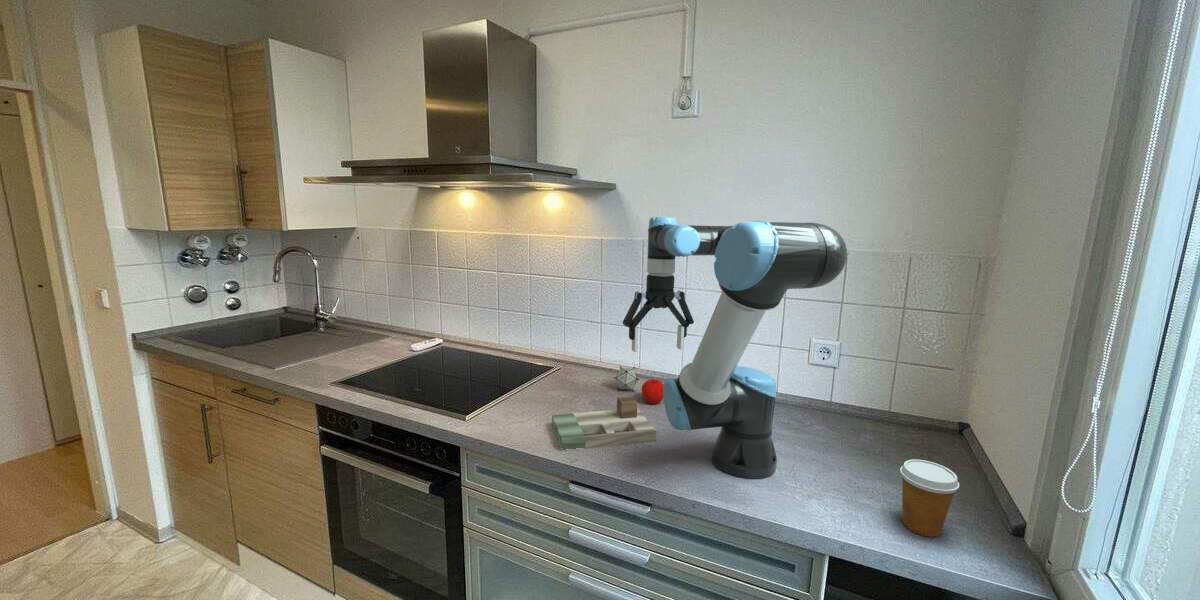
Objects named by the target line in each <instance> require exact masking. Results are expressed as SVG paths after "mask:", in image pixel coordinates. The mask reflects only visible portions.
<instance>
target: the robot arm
mask: <svg viewBox="0 0 1200 600" xmlns="http://www.w3.org/2000/svg"><path fill="white" fill-rule="evenodd" d="M647 233H648V234H647V266H646V271H647V273H648V274H647V275H646V290H645V292H640V291H635V293H634V299H633V301H632V303H631V305H630V306H629V309H628V311H627V313H626V314H625V317H624V319H623V320H622V324H623V325H624V326H625V327H628V339H629V340H631V351H633V352H634V353H638V345H639V344H638V343H639V342H638V341H639V328H637V326H638V325H639V324H640V323H641V322H642V320H643V319H644V318H645V317H646V315H647V314H648V313H649V312H650V311H651V310H652V309H654V310H655V309H667V308H668V310H669V311H670V312H671V314H673V316H674V317H675V319H676V320H677V321H678V323H679V324H678V325H677V333H676V334H677V336H676V348H677V349H679V350H681V351H683V350H684V339H685V338H686V337H687V335H688V333H687V332H688V328H689V326H690V325H693V324H694V322H695V321H694V319H693V318H694V317H693V316H692V313H691V311H690V308H689V307H688V304H687V301H686V298H685V292H684V291H683V290H677V291H675V290H674V289H675V276H674V274H675V273H676V257H678V258H679V257H680V258H681V257H689V256H714V258H715V261H714V263H713V270H714V275H715V278H716V281H717V282H718V286H719V289H720V290H721V293H720V296H719V299H718V301H717V303H716V305H715V308H714V311H713V313H712V315H711V317H710V319H709V322H708V324H707V326H706V329H705V332H704V333H703V336H702V339H701V340H700V343H699V344H698V345H699V346H698V347H697V350H696V353H695V354H694V357H693V359H692V362H688V363H687V364H686V365H685V366H683V367H682V368H681V370H680V372H679V375H678V377H677V378H674V377H671V378H668V379H666V380H665V381H664V383H663V384H664V386H663V400H662V401H663V406H664V410H665V411H664V412H665V414H666V417H667V419H668V421H669V423H670V425H671V427H673V428H674V429H675V430H677V431H693V430H701V429H709V428H710V429H711V428H713V429H714V428H721V429H720V431H719V433H718V435H717V438H716V440H715V442H714V444H713V447H712V450H711V461H712V463H713V464H714V465H715V466H716V467H717V468H718V469H719V470H722V471H723V472H725V473H727V474H730V475H732V476H735V477H741V478H746V479H763V478H768V477H769V476H772V475H774V473H776V471H777V467H778V464H777V463H778V458H777V454H776V453H777V452H776V450H775V446H774V445H775V444H774V440H773V436H772V435H773V426H774V416H775V404H776V398H777V383H776V380H775V378H774V377H773V376H771V375H770V374H769V373H767V372H764V371H762V370H759V369H756V368H752V367H748V366H743V365H738V364H739V362H740V360H741V359H742V357H743V355H744V354H745V353H744V352H745V351H746V349H747V347H748V345H749V344H750V341H751V339H752V337H753V336H754V334H755V332H756V330H757V328H758V326H759V325H760V322H761V320H762V319H763V316H764V315H765V313H766V311H767V312H768V311H771V310H774V309H775V308H777V307H778V306H779V305H780V302H781V301H782V299H783V298H784V296H785V294H786V292H787V291H788V290H800V289H802V290H803V289H814V288H819V287H824V286H825V285H828V284H829V283H831V282H833V281H834V280H836V278H837V277H838V276H839V275H840V274H841V273H842V271H843V270H844V267H845V266H846V263H847V259H848V247H847V244H846V242H845V239H844V238H843V237H842V236H841V234H840V233H839V232H838V231H836V229H833V228H832V227H831V226H829V225H826V224H822V223H818V222H786V221H785V222H780V221H779V222H778V221H777V222H775V221H770V222H769V221H767V220H753V221H742V222H738V223H735V224H733V225H687V224H678V220H677V218H676V217H674V216H672V217H671V216H652V217H651V218H649V221H648V228H647ZM644 299H645V300H646V301H645V303H644V304H643V306H642V307H641V308H640V307H639V306H640V305H641V302H643V300H644ZM674 299H676V300H677V302H678V305H679V307H680V309H681V311H682V314H683V315H682V314H681V313H680V311H679V310H678V309H677V307H676V306H675V304H674V303H673V300H674ZM639 308H640V310H639V311H638V309H639ZM637 311H638V312H637Z"/></svg>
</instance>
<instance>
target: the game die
mask: <svg viewBox="0 0 1200 600" xmlns="http://www.w3.org/2000/svg"><path fill="white" fill-rule="evenodd" d="M635 369H636V366H633V368H632V367H622V366H621V365H619V370H618V372H617V374H616V376H613V379H615V380H616V383H617V386H618V389H617V391H618V392H619V391H620V390H629V391H632V392H633V393H634V392H635V390H634V388H635V386H636V384H637V382H638V381H640V378H638V376H637V373H636V370H635Z"/></svg>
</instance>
